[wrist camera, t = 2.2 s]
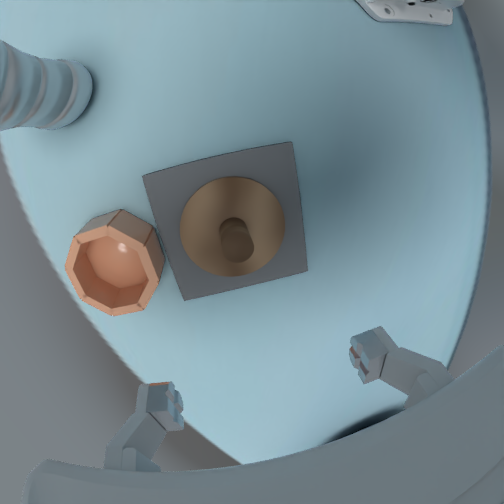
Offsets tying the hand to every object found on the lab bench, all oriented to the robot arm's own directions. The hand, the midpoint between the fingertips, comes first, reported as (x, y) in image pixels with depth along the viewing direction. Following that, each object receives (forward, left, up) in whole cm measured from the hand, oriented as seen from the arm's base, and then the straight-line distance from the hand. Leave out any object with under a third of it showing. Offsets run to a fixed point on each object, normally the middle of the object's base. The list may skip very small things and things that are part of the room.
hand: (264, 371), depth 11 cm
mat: (0, 0, -18) cm, 18 cm away
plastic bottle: (+12, -17, -18) cm, 28 cm away
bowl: (+12, 0, -18) cm, 21 cm away
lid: (0, 0, -17) cm, 17 cm away
